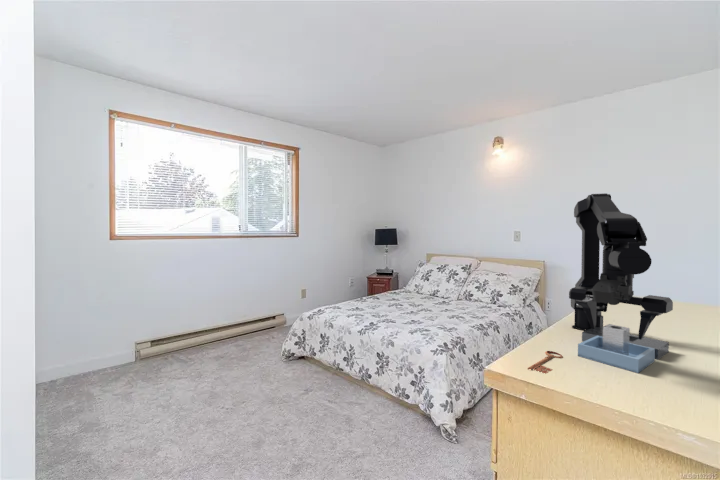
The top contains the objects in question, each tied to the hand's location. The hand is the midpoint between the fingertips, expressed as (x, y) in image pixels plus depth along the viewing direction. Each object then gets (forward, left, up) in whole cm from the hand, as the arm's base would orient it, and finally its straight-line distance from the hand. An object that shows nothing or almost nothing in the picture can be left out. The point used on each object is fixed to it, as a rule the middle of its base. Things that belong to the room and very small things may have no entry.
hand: (615, 333), depth 77 cm
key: (-8, -16, -7) cm, 19 cm away
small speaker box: (0, 0, -5) cm, 5 cm away
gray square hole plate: (-2, +12, -6) cm, 14 cm away
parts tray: (0, 0, -6) cm, 6 cm away
